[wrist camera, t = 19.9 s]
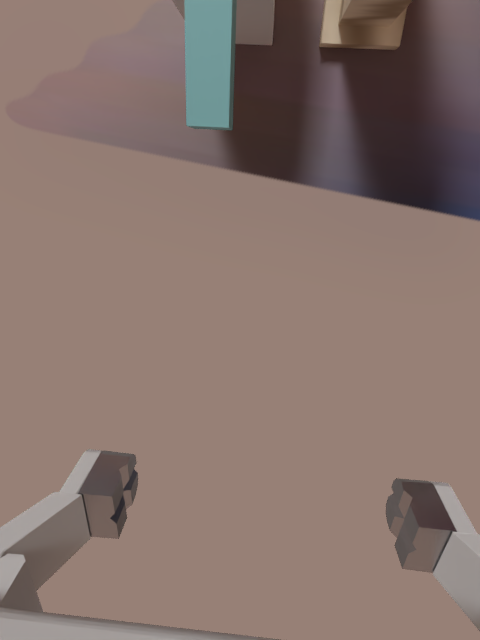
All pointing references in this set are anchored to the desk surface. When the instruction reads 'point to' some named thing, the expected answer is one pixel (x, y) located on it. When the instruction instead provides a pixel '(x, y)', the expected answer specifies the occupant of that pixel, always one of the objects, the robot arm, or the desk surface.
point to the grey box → (249, 21)
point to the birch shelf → (363, 23)
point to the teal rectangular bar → (210, 63)
